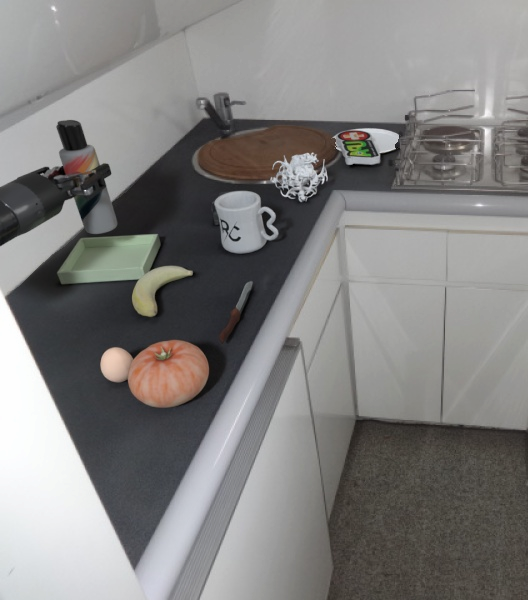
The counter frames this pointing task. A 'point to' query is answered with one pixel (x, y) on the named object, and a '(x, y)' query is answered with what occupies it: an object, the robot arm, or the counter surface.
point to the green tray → (110, 259)
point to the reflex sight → (215, 214)
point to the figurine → (299, 175)
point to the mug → (243, 222)
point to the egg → (116, 364)
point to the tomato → (168, 373)
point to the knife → (236, 313)
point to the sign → (358, 147)
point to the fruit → (154, 287)
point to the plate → (380, 139)
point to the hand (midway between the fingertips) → (93, 167)
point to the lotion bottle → (83, 159)
